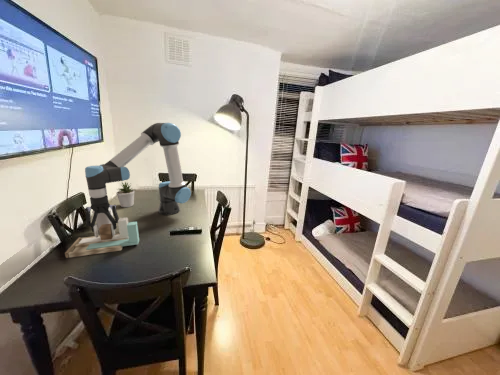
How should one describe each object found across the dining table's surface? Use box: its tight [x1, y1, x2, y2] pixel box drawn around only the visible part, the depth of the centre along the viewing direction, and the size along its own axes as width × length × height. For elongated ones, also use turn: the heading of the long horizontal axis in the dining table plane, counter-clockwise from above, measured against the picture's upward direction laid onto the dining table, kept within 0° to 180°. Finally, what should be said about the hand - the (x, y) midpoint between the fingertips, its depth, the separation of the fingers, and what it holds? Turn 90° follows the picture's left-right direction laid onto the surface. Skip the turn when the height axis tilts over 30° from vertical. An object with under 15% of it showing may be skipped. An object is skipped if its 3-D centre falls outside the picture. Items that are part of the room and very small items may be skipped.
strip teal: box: [86, 221, 140, 250], centre depth 109 cm, size 23×5×11 cm, turn 109°
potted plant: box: [115, 182, 136, 208], centre depth 168 cm, size 13×14×20 cm
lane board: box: [64, 232, 125, 259], centre depth 112 cm, size 23×16×3 cm
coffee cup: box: [91, 207, 112, 233], centre depth 127 cm, size 10×10×15 cm
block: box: [98, 224, 113, 240], centre depth 115 cm, size 5×5×7 cm
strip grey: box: [78, 217, 129, 244], centre depth 114 cm, size 23×5×11 cm, turn 109°
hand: (105, 235), depth 115 cm, fingers open, 7 cm apart
